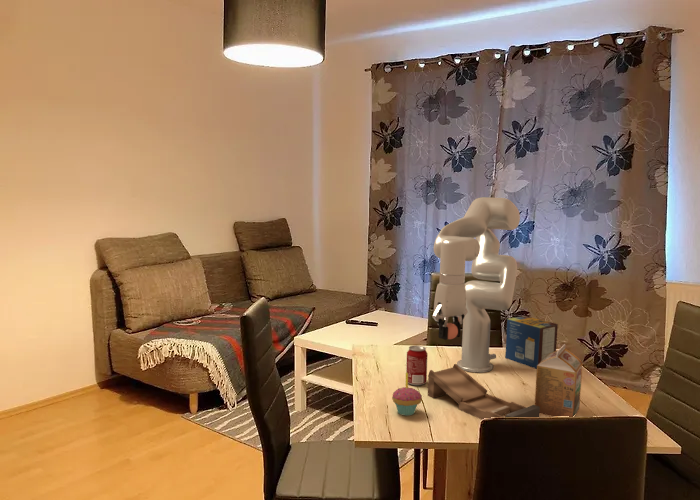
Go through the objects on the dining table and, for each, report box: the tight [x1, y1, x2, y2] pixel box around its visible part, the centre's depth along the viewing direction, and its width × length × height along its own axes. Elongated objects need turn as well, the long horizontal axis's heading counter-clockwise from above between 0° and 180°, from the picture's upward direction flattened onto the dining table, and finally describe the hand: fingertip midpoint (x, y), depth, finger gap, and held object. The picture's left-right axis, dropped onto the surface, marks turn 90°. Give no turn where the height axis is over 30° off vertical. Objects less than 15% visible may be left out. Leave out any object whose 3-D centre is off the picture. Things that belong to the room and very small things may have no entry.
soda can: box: [405, 345, 428, 387], centre depth 187 cm, size 7×7×12 cm
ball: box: [446, 322, 458, 340], centre depth 175 cm, size 5×5×5 cm
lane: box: [427, 363, 540, 420], centre depth 167 cm, size 32×12×8 cm, turn 37°
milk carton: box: [534, 343, 584, 417], centre depth 166 cm, size 11×10×19 cm
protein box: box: [504, 315, 559, 370], centre depth 212 cm, size 10×15×16 cm
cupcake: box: [391, 369, 423, 416], centre depth 163 cm, size 9×8×12 cm
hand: (449, 336), depth 176 cm, fingers closed on ball, 4 cm apart
